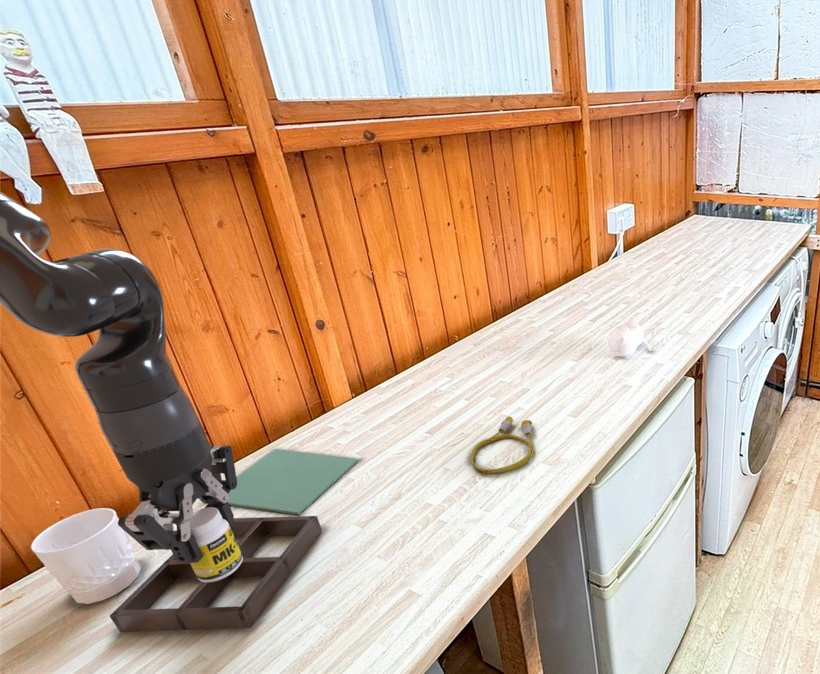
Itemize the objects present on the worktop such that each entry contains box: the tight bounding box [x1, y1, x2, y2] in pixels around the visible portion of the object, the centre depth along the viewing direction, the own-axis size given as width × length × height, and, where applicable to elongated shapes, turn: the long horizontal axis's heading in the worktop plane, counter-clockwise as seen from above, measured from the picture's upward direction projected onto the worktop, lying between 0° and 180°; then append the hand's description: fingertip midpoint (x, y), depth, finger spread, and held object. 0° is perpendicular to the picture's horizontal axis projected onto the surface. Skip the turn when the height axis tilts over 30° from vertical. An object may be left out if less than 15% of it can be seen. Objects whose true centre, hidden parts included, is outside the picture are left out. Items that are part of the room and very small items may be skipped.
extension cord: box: [470, 415, 534, 474], centre depth 98 cm, size 12×16×2 cm
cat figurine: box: [607, 320, 652, 358], centre depth 134 cm, size 9×11×12 cm
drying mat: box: [228, 448, 359, 516], centre depth 91 cm, size 18×14×1 cm
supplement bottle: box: [190, 507, 243, 583], centre depth 65 cm, size 5×5×8 cm
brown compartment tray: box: [109, 515, 323, 633], centre depth 72 cm, size 16×16×3 cm
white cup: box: [30, 507, 142, 605], centre depth 70 cm, size 8×8×10 cm
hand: (209, 542), depth 65 cm, fingers closed on supplement bottle, 4 cm apart
